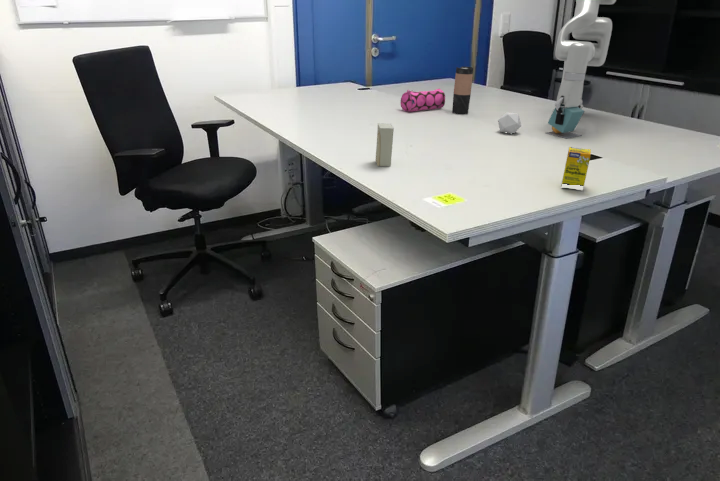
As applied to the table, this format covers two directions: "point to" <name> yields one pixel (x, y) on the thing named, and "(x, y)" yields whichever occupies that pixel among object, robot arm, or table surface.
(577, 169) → the supplement box
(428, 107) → the pencil case
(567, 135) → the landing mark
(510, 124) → the die
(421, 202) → the table surface
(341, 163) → the table surface
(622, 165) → the table surface
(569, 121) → the teal toy cube
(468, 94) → the travel mug
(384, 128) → the skincare box
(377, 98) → the table surface
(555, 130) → the ball
